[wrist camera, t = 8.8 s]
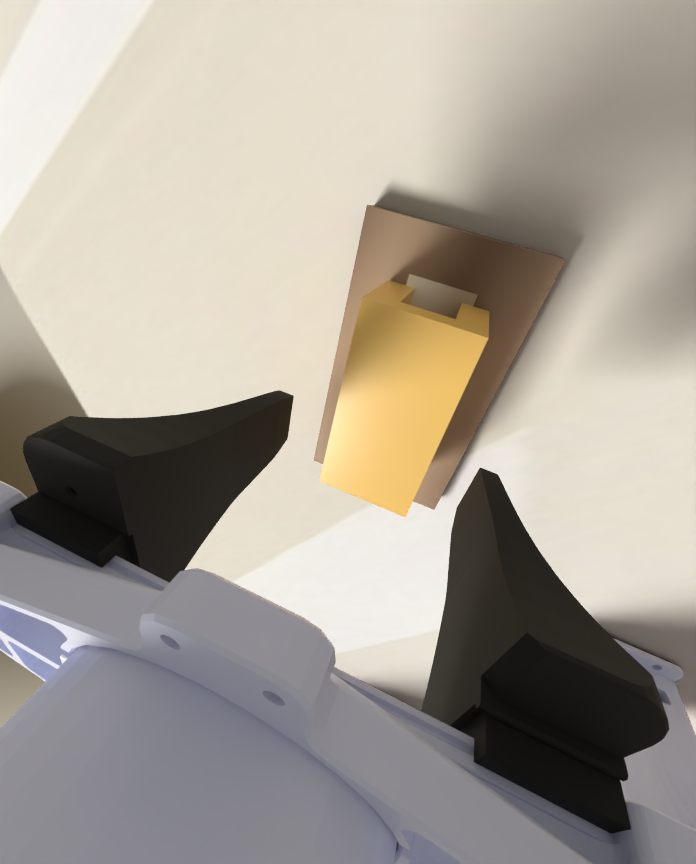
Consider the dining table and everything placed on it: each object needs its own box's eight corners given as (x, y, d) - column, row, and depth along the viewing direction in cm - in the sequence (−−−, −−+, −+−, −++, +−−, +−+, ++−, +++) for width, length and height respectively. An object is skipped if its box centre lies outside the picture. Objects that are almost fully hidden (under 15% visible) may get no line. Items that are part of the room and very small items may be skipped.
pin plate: (561, 257, 14) (578, 268, 11) (436, 498, 22) (427, 540, 19) (373, 205, 15) (346, 203, 12) (319, 451, 23) (296, 484, 20)
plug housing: (489, 311, 15) (488, 338, 12) (419, 468, 20) (405, 517, 17) (388, 280, 16) (361, 297, 12) (346, 439, 21) (319, 480, 17)
